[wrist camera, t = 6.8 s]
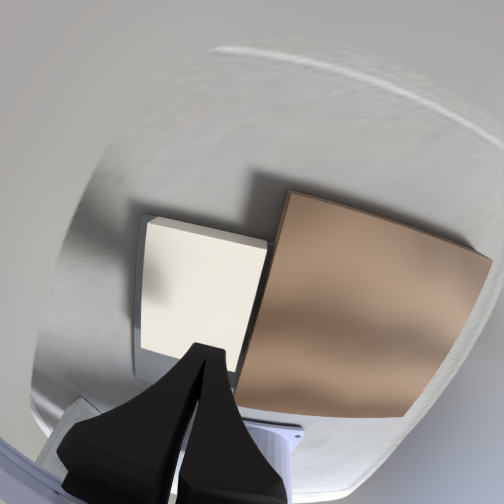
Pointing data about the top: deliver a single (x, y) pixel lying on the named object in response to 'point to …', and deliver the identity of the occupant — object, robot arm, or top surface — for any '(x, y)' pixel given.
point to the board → (354, 312)
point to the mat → (146, 361)
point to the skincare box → (71, 416)
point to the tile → (198, 287)
